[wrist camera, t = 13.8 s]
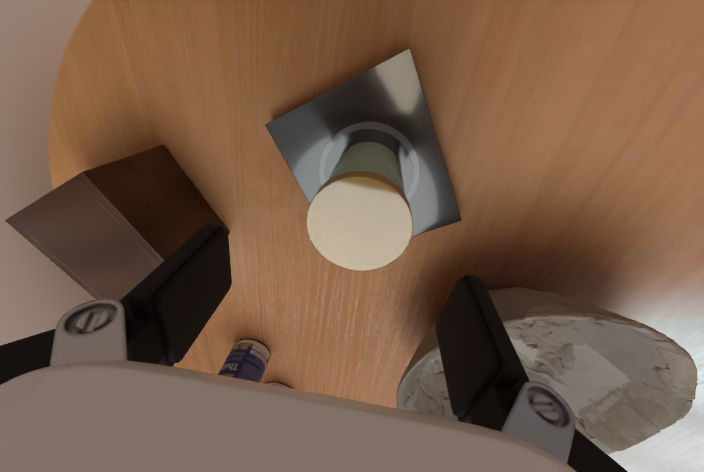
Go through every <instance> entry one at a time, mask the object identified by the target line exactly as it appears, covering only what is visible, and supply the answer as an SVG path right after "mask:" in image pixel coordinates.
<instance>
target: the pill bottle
mask: <svg viewBox="0 0 704 472" xmlns="http://www.w3.org/2000/svg"><path fill="white" fill-rule="evenodd" d="M269 358H270V353H269V351H268V349H267V348H266V347H265V346H264V345H262V344H261V343H259V342H257V341H254V340H241V341H238V342H237V343H236V344H235V345H234V347H233V349H232V350H231V352H230V354H229V356H228V357H227V359H226V361H225V363H224V365H223V366H222V368H221V370H220V372H219V374H218V375H222V376H227V377H233V378H238V379H243V380H249V381H254V382H260V381H261V378H262V376H263V373H264V371H265V369H266V366H267V364H268V361H269Z"/></svg>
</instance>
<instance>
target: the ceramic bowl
mask: <svg viewBox="0 0 704 472" xmlns="http://www.w3.org/2000/svg"><path fill="white" fill-rule="evenodd" d="M488 293H489V295H490V297H491V299H492V301H493V303H494V306H495V308H496V310H497V312H498V314H499V316H500V318H501V320H502V323H503V325H504V327H505V329H506V331H507V333H508V335H509V338H510V340H511V342H512V344H513V346H514V348H515V350H516V352H517V355H518V357H519V359H520V361H521V363H522V365H523V367H524V370H525V372H526V374H527V376H528V378H529V380H530V381H537V382H540V383H543V384H545V385H547V386H549V387H550V388H552V389H553V390H555V391H556V392H557V393H558V394H559V395H561V396H562V398H563V399H564V400H565V401H566V402H567V403H568V405H569V406H570V408H571V410H572V411H573V414H574V417H575V419H576V427H575V428H576V429H577V430H578V431H579V432H580V433H582V434H583V435H584V436H585V437H586V438H588V439H589V440H590V441H591V442H592V443H594V444H595V445H596V446H597V447H599V448H600V449H601V450H602V451H603V452H605V453H606V454H607V455H608V454H611V453H613V452H616V451H622V450H625V449H627V448H629V447H631V446H634V445H636V444H638V443H640V442H642V441H644V440H646V439H648V438H649V437H651V436H653V435H655V434H657V433H658V432H660V430H662V429H664V428H666V427H668V426H670V425H672V424H674V423H676V421H677V420H679V419H682V418H684V416H685V415H686V414H687V413H688V412H689V410H690V409H691V407H692V400H693V399H695V390H696V386H697V369H696V366H695V364H694V361H693V359H692V358H691V356H690V354H689V353H688V352H687V351H686V350H685V349H683V348H682V347H680V346H679V345H678V344H677V343H676V342H675V341H674V340H672V339H670V338H669V337H667V336H666V335H664V334H662V333H660V332H658V331H656V330H655V329H653V328H651V327H649V326H647V325H645V324H642V323H639V322H637V321H634V320H631V319H628V318H625V317H623V316H621V315H618V314H616V313H613V312H610V311H607V310H605V309H602V308H599V307H596V306H594V305H591V304H588V303H585V302H582V301H578V300H574V299H571V298H567V297H563V296H560V295H558V294H556V293H554V292H549V291H545V292H542V291H538V290H532V289H527V288H522V287H520V288H504V289H498V290H489V291H488ZM436 322H437V321H436ZM435 327H436V323H435V324H434V325H433V326H432V327H431V329H430V330H429V332H428V333H427V335H426V336H425V338H424V339H423V340H422V342H421V344H420V346H419V347H418V349H417V351H416V352H415V354H414V356H413V358H412V360H411V361H410V363H409V365H408V367H407V369H406V370H405V372H404V374H403V376H402V378H401V381H400V383H399V386H398V390H397V409H401V410H406V411H411V412H416V413H421V414H426V415H431V416H436V417H440V418H445V419H450V420H454V421H458V419H457V416H455V415H454V414H453V412H452V409H451V404H450V399H449V394H448V389H447V384H446V379H445V374H444V369H443V364H442V360H441V355H440V350H439V345H438V340H437V335H436V329H435Z"/></svg>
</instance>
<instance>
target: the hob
mask: <svg viewBox="0 0 704 472" xmlns="http://www.w3.org/2000/svg"><path fill="white" fill-rule="evenodd" d="M265 126H266V127H267V129H268V131H269V133H270V134H271V136H272V138H273V140H274V142H275V143H276V145H277V147H278V149H279V150H280V152H281V154H282V156H283V157H284V159H285V161H286V163H287V164H288V166H289V168H290V170H291V171H292V173H293V175H294V177H295V179H296V180H297V182H298V184H299V186H300V187H301V189H302V191H303V193H304V194H305V196H306V198H307V200H308V201H309V203H311V201H312V200H313V198H314V196H315V194H316V193H317V191H318V190H319V189H320V187H321V186H322V185H323V184H324V183H325V182H327V180H328V178H329V176H330V174H331V172H332V171H333V169H334V167H335V165H336V163H337V161H338V160H339V158H340V156H341V155H342V154H343V152H345V151H346V150H347V149H348V148H349V147H351V146H353V145H355V144H358V143H362V142H375V143H379V144H382V145H384V146H386V147H387V148H389V149H390V150H391V151H392V152H393V153H394V154H395V155H396V157H397V158H398V160H399V162H400V165H401V169H402V176H403V182H404V189H405V196H406V197H407V200H408V202H409V204H410V207H411V212H412V218H413V233H412V236H414V235H418V234H421V233H424V232H427V231H430V230H433V229H436V228H439V227H443V226H446V225H449V224H452V223H455V222H458V221H461V217H460V213H459V210H458V206H457V203H456V200H455V196H454V193H453V190H452V186H451V183H450V180H449V176H448V173H447V170H446V166H445V163H444V160H443V156H442V153H441V150H440V146H439V143H438V140H437V136H436V133H435V130H434V126H433V123H432V120H431V116H430V113H429V110H428V106H427V103H426V100H425V96H424V93H423V90H422V86H421V83H420V80H419V76H418V73H417V70H416V66H415V63H414V60H413V56H412V53H411V50H410V48H408V49H406V50H404V51H402V52H400V53H398V54H397V55H395V56H393V57H391V58H389V59H387V60H385V61H384V62H382V63H380V64H378V65H376V66H374V67H372V68H370V69H369V70H367V71H365V72H363V73H361V74H359V75H357V76H355V77H354V78H352V79H350V80H348V81H346V82H344V83H342V84H340V85H339V86H337V87H335V88H333V89H331V90H329V91H327V92H325V93H324V94H322V95H320V96H318V97H316V98H314V99H312V100H310V101H309V102H307V103H305V104H303V105H301V106H299V107H297V108H295V109H294V110H292V111H290V112H288V113H286V114H284V115H282V116H280V117H279V118H277V119H275V120H273V121H271V122H269V123H267V124H266V125H265Z"/></svg>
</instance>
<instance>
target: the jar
mask: <svg viewBox="0 0 704 472" xmlns="http://www.w3.org/2000/svg"><path fill="white" fill-rule="evenodd" d="M306 225H307V231H308V235H309V237H310V240H311V242H312V244H313V245H314V247H315V248H316V249H317V251H318V252H319V253H320V254H321V255H322V256H323V257H324V258H326V259H327V260H329V261H330V262H332V263H334V264H335V265H338V266H340V267H343V268H346V269H350V270H358V271H367V270H374V269H378V268H381V267H384V266H386V265H388V264H390V263H392V262H393V261H395V260H396V259H397V258H398V257H400V256H401V254H402V253H403V252H404V251H405V250H406V248H407V247H408V245H409V243H410V240H411V237H412V233H413V218H412V212H411V207H410V204H409V202H408V200H407V197H406V196H405V189H404V182H403V176H402V169H401V165H400V162H399V160H398V158H397V157H396V155H395V154H394V153H393V152H392V151H391V150H390V149H389V148H387V147H386V146H384V145H382V144H379V143H375V142H362V143H358V144H355V145H353V146H351V147H349V148H348V149H347V150H346V151H345V152H343V154H342V155H341V156H340V158H339V160H338V161H337V163H336V165H335V167H334V169H333V171H332V172H331V174H330V176H329V178H328V180H327V182H325V183H324V184H323V185H322V186H321V187H320V189H319V190H318V191H317V193H316V194H315V196H314V198H313V200H312V201H311V203H310V205H309V208H308V212H307V218H306Z"/></svg>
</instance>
